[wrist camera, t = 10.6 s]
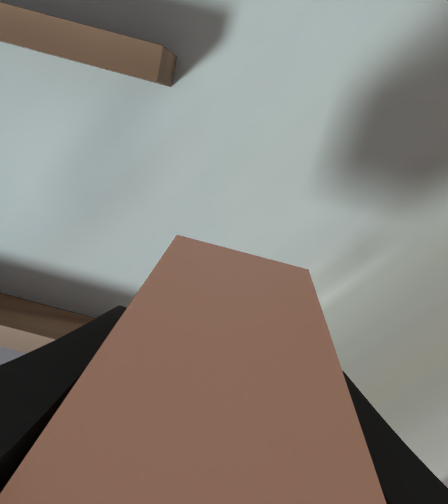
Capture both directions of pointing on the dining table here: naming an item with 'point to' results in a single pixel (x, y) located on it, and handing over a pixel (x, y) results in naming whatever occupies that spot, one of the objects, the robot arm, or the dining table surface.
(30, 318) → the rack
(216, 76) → the dining table surface
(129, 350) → the block
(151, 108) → the dining table surface
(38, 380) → the robot arm
